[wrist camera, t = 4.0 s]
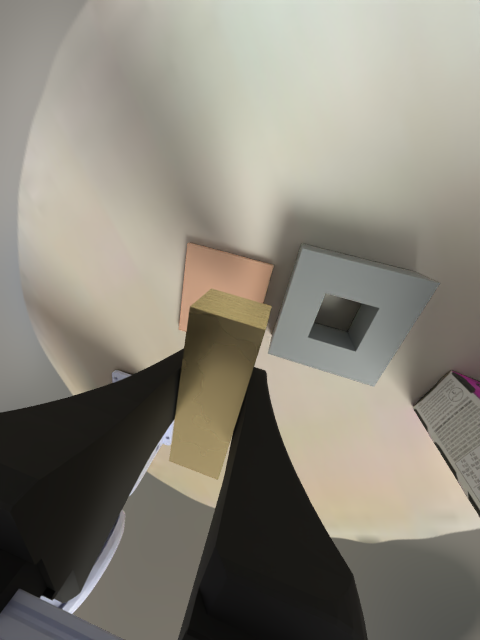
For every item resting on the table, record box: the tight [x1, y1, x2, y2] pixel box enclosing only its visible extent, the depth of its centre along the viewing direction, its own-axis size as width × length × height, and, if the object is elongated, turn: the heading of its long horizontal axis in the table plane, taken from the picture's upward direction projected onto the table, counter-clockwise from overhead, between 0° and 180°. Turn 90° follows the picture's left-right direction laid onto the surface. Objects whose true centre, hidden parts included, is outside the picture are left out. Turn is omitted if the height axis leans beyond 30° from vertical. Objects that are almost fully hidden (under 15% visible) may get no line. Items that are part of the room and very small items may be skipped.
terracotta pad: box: [179, 243, 274, 332], centre depth 19 cm, size 8×7×1 cm
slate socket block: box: [268, 244, 440, 386], centre depth 16 cm, size 8×8×3 cm
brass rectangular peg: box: [169, 288, 272, 480], centre depth 12 cm, size 8×2×7 cm, turn 167°
